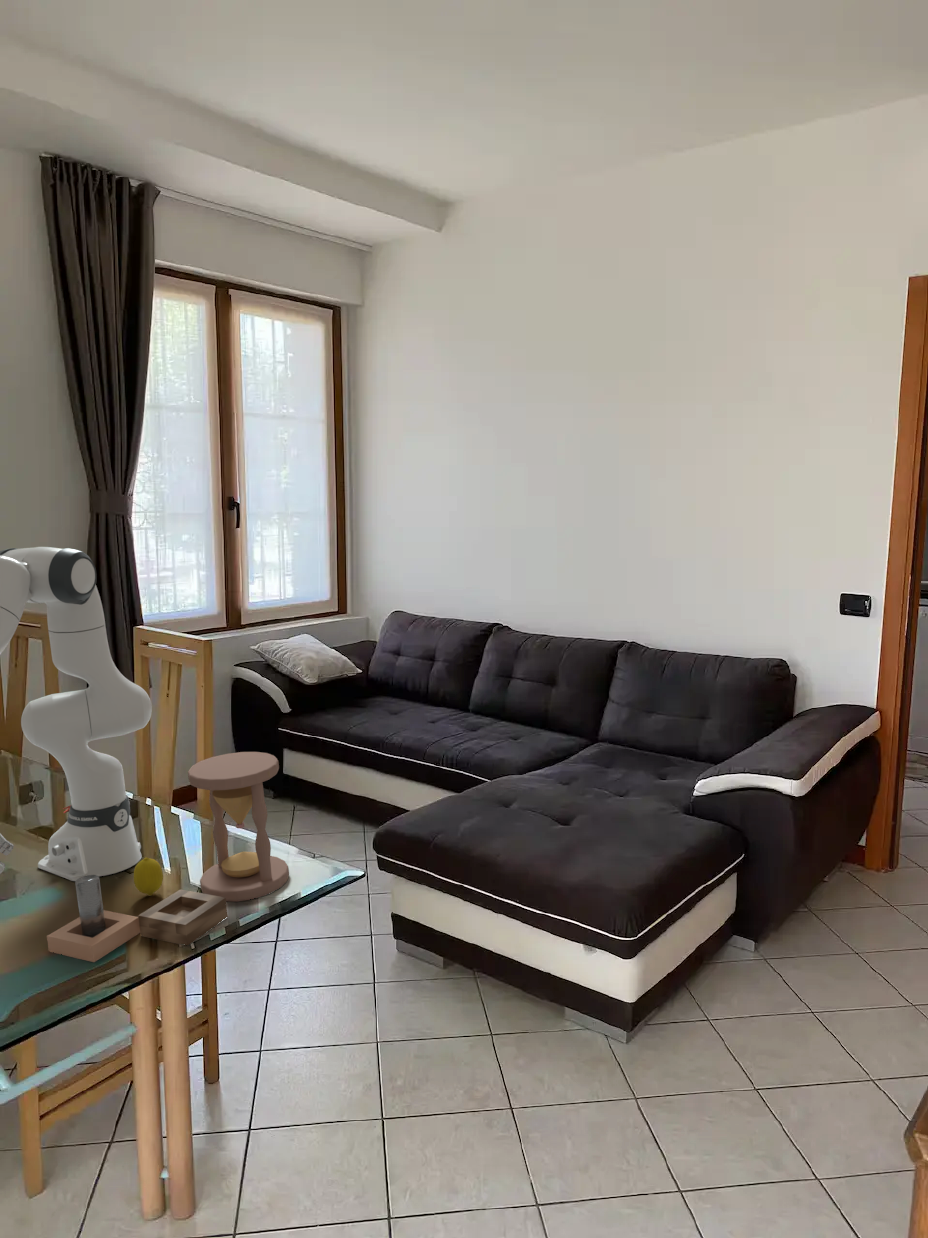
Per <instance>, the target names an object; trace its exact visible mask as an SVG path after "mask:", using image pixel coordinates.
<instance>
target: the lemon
mask: <svg viewBox="0 0 928 1238" xmlns="http://www.w3.org/2000/svg"><path fill="white" fill-rule="evenodd" d="M163 880H164V872H163V870H162V866H161V863H159V862H158V861H157V860H156V859H154V858H151V857H150V858H149V857H147V856H145V857H144V858H143V859H140V861H139V862H138V863H136V864H135V867H134V870H133V883H134V886H135V887H136V889H137V890H138V891H139V892H140V893H142V894H146V895H148V896H153V894H154V893H155V892H157V891H159V889H160V888H161V886H162V884H163Z"/></svg>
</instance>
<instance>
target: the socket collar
mask: <svg viewBox="0 0 928 1238" xmlns="http://www.w3.org/2000/svg"><path fill="white" fill-rule="evenodd" d="M103 911H104V919H105V926H106V930H105V931H103V932H101V933H100V934H98V935H96V936H95V937H93V938H91V937H87V936H82V929H81V922H80V916H78V917H77V918H75V919H73V920H72V921H70V922H68V923H66V924H65V925H63V926H62V927H60V928H58V929H57V930H55V931H53V932H51V933H50V934H47V935H46V940H47V941H46V942H47V946H48V952H49V951H52V952H51V953H53V952H54V953H53V954H57V955H61V954H62V955H63V956H66V957H70V958H74V959H78V960H83V961H87V962H91V963H95V962H97V961H98V960H100V959H102V958H103V957H106V955H108V954H110V953H111V952H113V951H114V950H115V949H117V948H118V947H120V946H123V944H125V943H126V942H128V941H130V940H131V939H133V938H135V937H136V936H137V935H139V934H140V926H139V918H138V916H135V915H130V914H126V913H121V912H115V911H111V910H105V909H103Z"/></svg>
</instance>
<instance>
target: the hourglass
mask: <svg viewBox="0 0 928 1238" xmlns="http://www.w3.org/2000/svg"><path fill="white" fill-rule="evenodd" d="M279 764H280V762H279V760H278V758H277V757H276V756H275V755H274V754H271V753H268V752H260V751H240V752H239V751H238V752H232V753H231V752H230V753H224V754H220V755H219V754H218V755H216V756H215V755H214V756H211V757H208V758H205V759H202V760H200V761H198V762H196V763H195V764H193V765H192V766H191V767H190V768H189V770H188V771H187V776H188V777H187V778H188V782H189V783H190V785H191V786H192V787H193V788H194V787H195V788H197V789H199V790H200V789H201V790H205V791H209V799H208V801H209V807H210V810H211V812H212V814H213V817H214V823H213V829H212V835H213V840H214V845H215V850H216V855H217V856H216V858H217V863H216V864H214V865H211V866H210V867H209V868H208V869H207V870H206V871H204V872H203V874H202V875H201V877H200V879H199V885H200V886H199V887H200V889H201V893H203V894H209V895H214V896H220V897H225V898H226V903H227V902H231V903H232V902H235V903H238V902H243V901H244V902H245V901H249V900H250V899H251V900H254V898H256V899H259V898H262V897H265V896H268V895H270V894H272V893H274V892H276V891H278V890H279V888H280V889H281V888H283V886H284V885H285V884H286V883H287V882H288V879H289V876H290V869H289V866H288V864H287V863H286V862H287V861H285V860H284V859H281V858H279V857H278V856H274V855H273V856H272V855H271V851H272V847H271V845H272V844H271V841H270V838H269V835H268V833H267V831H266V830H267V829H266V825H267V823H268V822H267V821H268V808H267V805H266V801H265V793H264V785H263V784H264V783H263V782H267V781H268V780H270V779H272V778H273V777H275V776H276V775H277V774H278V772H279V769H280V765H279ZM250 810H251V817H252V820H253V823H254V825H255V828H256V830H257V832H256V836H255V837H256V838H255V843H254V846H255V847H254V849H255V851H241V852H238V853H236V854H232V855H230V856H229V848H228V846H229V845H228V841H229V832H228V831H229V830H228V828H227V825H226V823H225V820H224V818H223V817H224V812H226V814H227V815H229V817H230V818H231V819H232V820H233V822H235V828H237V829H243V828H245V822H244V820H245V819H246V818H247V816H248V814H249V812H250ZM277 889H278V890H277ZM275 890H276V891H275ZM273 891H274V892H273ZM271 892H272V893H271ZM269 893H270V894H269ZM267 894H268V895H267ZM258 897H259V898H258Z"/></svg>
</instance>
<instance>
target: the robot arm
mask: <svg viewBox="0 0 928 1238" xmlns="http://www.w3.org/2000/svg"><path fill="white" fill-rule="evenodd" d="M97 575H98V574H97V569H96V566H95V564H94V562H93V560H92V559H91V557H90V556H89V555H88V554H87V553H85V552H84V551H81V550H80V549H79V550H78V549H74V548H69V547H67V548H58V547H50V546H35V547H24V548H23V547H22V548H16V547H11V548H6V549H2V550H0V656H1V655H2V653H3V652H4V651H5V650H6V648H7V646H9V643H10V642H11V640H12V638H13V637H14V635H15V633H16V630H17V628H18V625H19V624H20V622H21V618H22V617H23V613H24V610H25V608H26V605H27V603H29V604H39V605H41V604H45V606H46V619H47V620H46V621H47V630H48V637H49V646H50V652H51V653H50V654H51V660H52V663H53V665H54V667H55V668H56V669H57V670H58V671H60V672H62V673H64V674H65V675H68V676H72V677H75V678H78V679H81V680H83V681H84V682H86V683H87V684H88V687H87V688H85V689H79V690H71V691H65V692H58V693H51V694H48V695H45V696H42V697H39V698H36V699H33V700H30V701H29V702H28V703H27V705H25V707H24V709H23V711H22V715H21V719H20V725H21V730H22V732H23V735H24V736H25V738H26V739H27V740H28V741H29V742H30V743H31V744H32V745H34V746H36V747H38V748H40V749H42V750H44V751H45V752H47V753H48V754H50V755H51V756H53V757H54V758H55V760H56V761H58V763H59V765H60V766H61V767H62V770H63V771H64V773H65V774H64V775H65V777H66V781H67V785H68V790H69V791H68V792H69V795H70V796H69V797H70V802H71V804H70V805H68V806H65V807H64V808H62V810H65V811H63V814H66V813H68V815H67V816H68V817H67V821H66V822H65V823H64V824H62V826H60V827H59V829H57V831H56V832H54V833H53V834H52V835H51V837H50V838H49V840H48V845H47V846H48V847H47V848H48V850H47V851H48V854H47V855H45V856H44V857H43V858H41V859H40V860H39V861H38V863H37V867H38V869H41V870H43V871H46V872H48V873H50V874H53V875H55V876H58V877H62V878H65V879H67V880H69V881H71V882H75V881H76V880H77V879H79V878H81V877H83V876H87V875H97V876H99V877H102V876H103V877H105V876H109V875H112V874H113V875H114V874H117V873H119V872H122V871H125V870H127V869H130V868H131V867H133V866H136V865H137V864H138V863H139V862H140V861H141V860H142V853H141V849H142V845H141V842H140V841H139V842H138V839H137V834H136V830H135V825H134V821H133V818H132V815H131V807H130V805H131V803H130V800H129V796H128V795H127V792H126V785H125V783H126V782H125V776H124V769H123V768H124V767H123V765H122V763H121V762H120V760H119V759H118V758H116V757H115V756H112V755H110V754H108V753H103V752H98V751H96V750H93V749H92V748H90V747H89V745H88V743H89V742H92V741H95V740H101V739H107V738H113V737H119V736H121V737H122V736H126V735H127V734H130V733H133V732H136V731H139V730H141V729H144V728H145V727H146V726H147V724H148V723H149V721H150V720H151V717H152V711H153V704H152V700H151V698H150V696H149V694H148V693H147V691H146V690H145V689H144V688H143V687H141V686H140V685H139V684H137V683H134V682H132V681H131V680H130V679H128V678H127V677H125V676H124V675H123V674H122V673H121V671H120V670H119V669H118V668H117V666H116V664H115V662H114V661H113V658H112V655H111V650H110V646H109V642H108V635H107V628H106V621H105V620H106V619H105V613H104V608H103V603H102V600H101V596H100V593H99V590H98V587H97V585H96V584H97V577H98V576H97ZM14 846H15V845H14V844H13V843H12V842H10V841H9V840H7V839H6V838H5V837H4V836H3V835H2V833H1V832H0V853H1V854H3V855H4V856H8V855H10V853H11V852H12V851H13V849H14ZM5 868H6V863H4V862H3V861H1V860H0V875H1V874H2V873H3V872H4V870H5Z"/></svg>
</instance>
